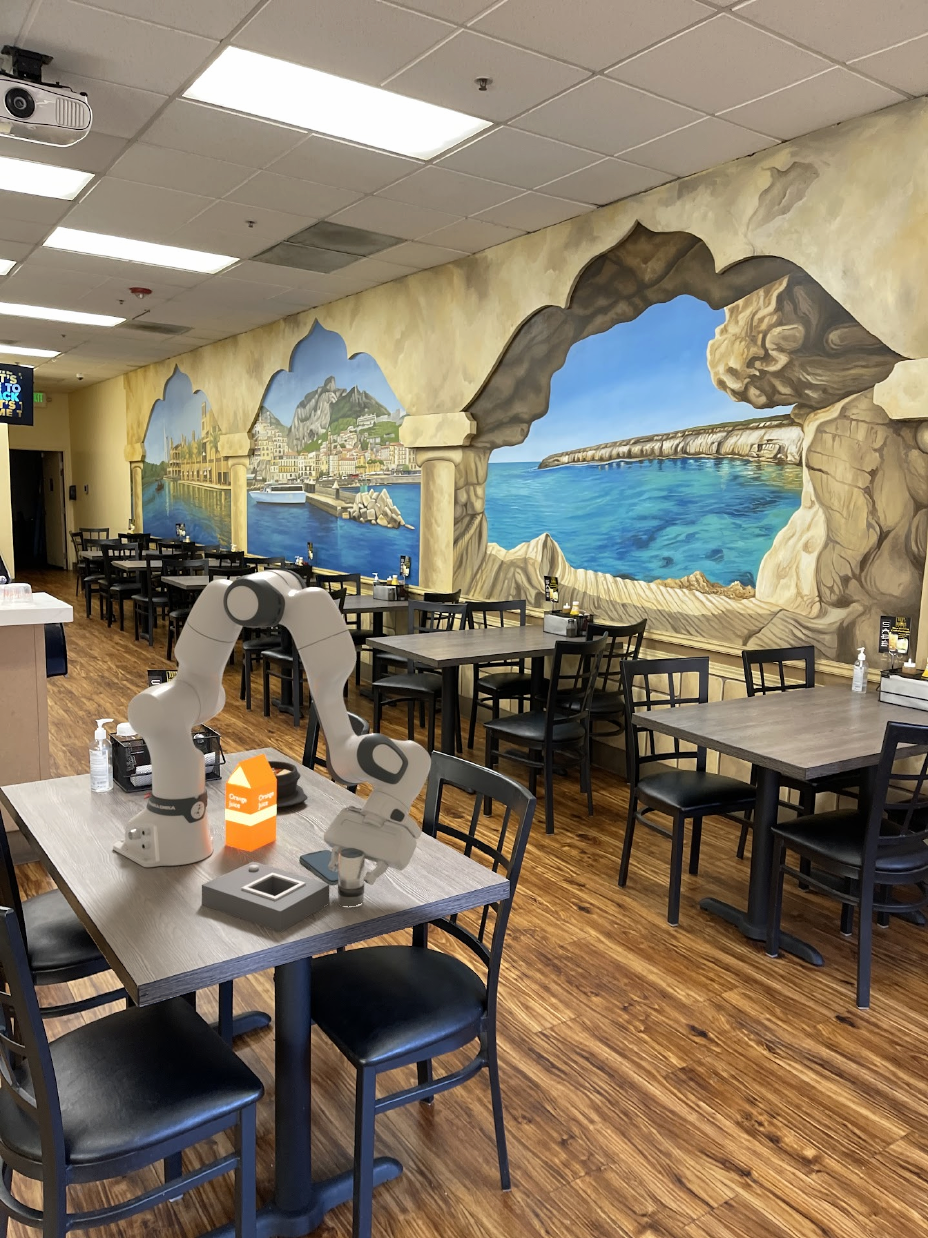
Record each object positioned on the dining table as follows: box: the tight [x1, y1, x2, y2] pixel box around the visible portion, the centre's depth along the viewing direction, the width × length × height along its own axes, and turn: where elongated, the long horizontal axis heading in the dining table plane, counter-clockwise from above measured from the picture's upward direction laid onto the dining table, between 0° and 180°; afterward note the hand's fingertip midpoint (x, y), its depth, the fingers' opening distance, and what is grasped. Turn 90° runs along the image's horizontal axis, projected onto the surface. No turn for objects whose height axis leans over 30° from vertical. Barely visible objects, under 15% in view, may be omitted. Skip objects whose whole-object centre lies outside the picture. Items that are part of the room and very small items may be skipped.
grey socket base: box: [201, 860, 330, 933], centre depth 167 cm, size 20×14×5 cm
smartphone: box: [299, 849, 339, 885], centre depth 185 cm, size 8×2×15 cm
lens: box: [337, 848, 366, 907], centre depth 169 cm, size 5×5×10 cm
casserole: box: [267, 760, 308, 808], centre depth 229 cm, size 25×19×8 cm
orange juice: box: [224, 753, 278, 853], centre depth 198 cm, size 8×9×20 cm
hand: (349, 876), depth 169 cm, fingers open, 8 cm apart
